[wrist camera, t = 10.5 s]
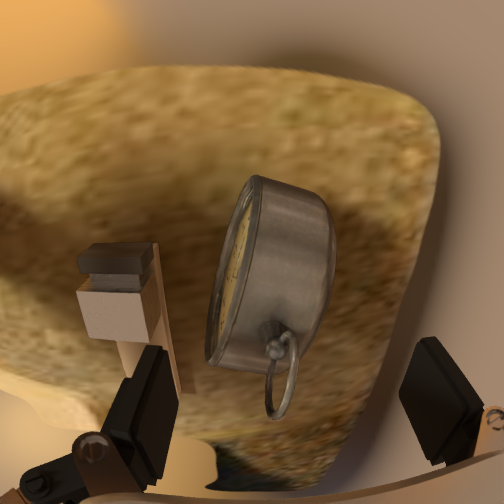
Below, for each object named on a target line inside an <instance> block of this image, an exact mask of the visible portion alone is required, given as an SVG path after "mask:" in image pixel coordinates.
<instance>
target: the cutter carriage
mask: <svg viewBox="0 0 504 504" xmlns="http://www.w3.org/2000/svg"><path fill="white" fill-rule="evenodd" d="M89 275H90V277H89V278H88V279H87V280H86V281H85V282H84V283H83V284H82V285H81V286H80V287H79V288H78V289H77V291H76V294H77V297H78V301H79V305H80V309H81V312H82V316H83V319H84V322H85V326H86V329H87V332H88V335H89V338H95V339H105V340H116V341H129V342H144V343H150V341H151V338H152V336H153V333H154V331H155V328H156V326H157V324H158V321H159V319H160V316H161V310H160V304H159V298H158V291H157V284H156V277H155V270H154V269H146V270H145V271H144V273H143V274H93V273H90V274H89Z"/></svg>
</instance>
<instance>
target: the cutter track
mask: <svg viewBox="0 0 504 504" xmlns="http://www.w3.org/2000/svg"><path fill="white" fill-rule="evenodd" d="M77 262H78V267H79V271H80V273H93V274H143V273H144V271H145V270H146V269H154V270H155V277H156V284H157V291H158V298H159V304H160V310H161V316H160V319H159V321H158V324H157V326H156V328H155V331H154V333H153V336H152V338H151V341H150V343H144V342H129V341H116V343H117V347H118V350H119V354H120V357H121V360H122V364H123V367H124V370H125V373H126V376H127V377H129V378H131V377H132V375H133V372H134V370H135V368H136V366H137V363H138V361H139V359H140V357H141V354H142V352H143V350H144V348H145V346H146V345H160V346H162V347H163V350H167V351H168V354H169V359H170V364H171V368H172V373H173V378H174V382H175V387H176V391H177V396H178V399H179V397H180V393H181V386H180V381H179V376H178V371H177V366H176V361H175V355H174V350H173V344H172V339H171V333H170V327H169V320H168V314H167V308H166V301H165V294H164V287H163V279H162V271H161V263H160V254H159V245H158V243H152V242H128V243H94V244H92V245H91V246H90V247H89V248H88V249H86V250H85V251H84V252H83V253H82V254H80V255H79V256H78V257H77Z"/></svg>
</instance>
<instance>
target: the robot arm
mask: <svg viewBox="0 0 504 504" xmlns="http://www.w3.org/2000/svg"><path fill="white" fill-rule="evenodd" d="M399 398H400V401H401V403H402V405H403V407H404V409H405V412H406V414H407V416H408V418H409V420H410V423H411V425H412V427H413V429H414V432H415V434H416V436H417V438H418V441H419V443H420V445H421V448H422V450H423V452H424V455H425V457H426V459H427V460H430V462H431V464H432V466H434V465H437V464H440V463H443V462H444V461H445V463H446V467H445V468H442V469H438V470H435V471H432V472H429V473H426V474H423V475H419V476H416V477H412V478H409V479H406V480H401V481H398V482H394V483H390V484H385V485H381V486H376V487H372V488H366V489H361V490H356V491H350V492H344V493H337V494H330V495H323V496H313V497H303V498H289V499H268V500H231V499H208V498H195V497H184V496H174V495H162V494H154V493H144V492H143V491H145V490H146V489H147V485H153V486H156V482H157V479H162V477H163V472H164V468H165V463H166V459H167V454H168V450H169V445H170V441H171V437H172V432H173V428H174V424H175V419H176V415H177V411H178V405H179V401H178V396H177V391H176V387H175V382H174V378H173V373H172V368H171V364H170V359H169V354H168V351H167V350H163V347H162V346H160V345H146V346H145V348H144V350H143V352H142V354H141V357H140V359H139V361H138V363H137V366H136V368H135V370H134V372H133V375H132V377H131V378H129V377H126V378H124V380H123V381H122V383H121V386H120V388H119V390H118V392H117V394H116V397H115V399H114V401H113V403H112V406H111V408H110V410H109V413H108V415H107V417H106V420H105V422H104V424H103V427H102V429H101V431H100V432H93V431H91V432H87V433H84V434H82V435H80V436H79V437H78V438H77V439H76V440H75V441H74V443H73V445H72V453H70V454H68V455H65V456H63V457H61V458H58V459H56V460H53V461H50V462H48V463H45V464H43V465H40V466H37V467H35V468H32V469H30V470H28V471H26V472H25V473H24V474H23V475H22V477H21V479H20V487H19V488H18V489H17V490H16V489H15V488H12V489H11V490H9V491H8V492H7V493H5V494H4V495H3V496H1V497H0V504H504V409H503V408H501V407H498V406H491V407H489V408H487V409H486V410H484V409H483V406H484V403H483V402H482V400H481V399H480V397H479V396H478V394H477V393H476V392H475V390H474V388H473V387H472V386H471V384H470V383H469V381H468V380H467V378H466V377H465V375H464V374H463V373H462V371H461V370H460V368H459V367H458V366H457V364H456V363H455V362H454V360H453V359H452V357H451V356H450V355H449V353H448V352H447V351H446V349H445V348H444V347H443V346H442V344H441V343H440V342H439V340H438V339H437V338H436V337H434V336H433V337H426V338H422V339H421V340H420V341H419V342H418V343H417V344H416V347H415V349H414V352H413V355H412V358H411V361H410V364H409V366H408V369H407V372H406V374H405V377H404V380H403V382H402V385H401V387H400V390H399Z"/></svg>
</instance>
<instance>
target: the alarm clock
mask: <svg viewBox="0 0 504 504" xmlns="http://www.w3.org/2000/svg"><path fill="white" fill-rule="evenodd" d="M336 257H337V242H336V231H335V226H334V222H333V218H332V216H331V213H330V211H329V209H328V207H327V205H326V204H325V202H324V201H323V200H322V199H321V198H320V197H319V196H318V195H317V194H315V193H313V192H311V191H308V190H305V189H302V188H299V187H295V186H292V185H289V184H286V183H282V182H279V181H276V180H272V179H269V178H266V177H262V176H259V175H253V176H251V177H250V178H249V179H248V181H247V182H246V184H245V186H244V187H243V189H242V192H241V194H240V196H239V199H238V202H237V204H236V207H235V209H234V212H233V215H232V218H231V221H230V224H229V228H228V231H227V234H226V237H225V241H224V245H223V248H222V252H221V256H220V260H219V264H218V268H217V273H216V277H215V282H214V287H213V291H212V296H211V302H210V306H209V312H208V319H207V326H206V336H205V359H206V362H207V363H208V364H209V365H210V366H216V367H222V368H228V369H233V370H239V371H245V372H251V373H258V374H264V375H267V377H266V386H265V406H266V412H267V415H268V417H269V418H270V419H272V420H278V419H280V418H281V417H282V416H284V414H285V412H286V410H287V408H288V406H289V403H290V401H291V398H292V395H293V391H294V387H295V384H296V379H297V374H298V368H299V360H300V359H301V358H302V357H303V356H304V354H305V353H306V352H307V350H308V349H309V347H310V346H311V344H312V343H313V341H314V339H315V337H316V335H317V333H318V331H319V329H320V327H321V324H322V322H323V319H324V317H325V314H326V311H327V308H328V305H329V301H330V297H331V293H332V288H333V283H334V277H335V269H336ZM288 369H289V373H288V376H287V382H286V388H285V391H284V394H283V397H282V400H281V402H280V405H279V407H278V409H277V410H276V411H275V410H274V408H273V404H272V383H273V375H277V374H280V373H283V372H285V371H287V370H288Z"/></svg>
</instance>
